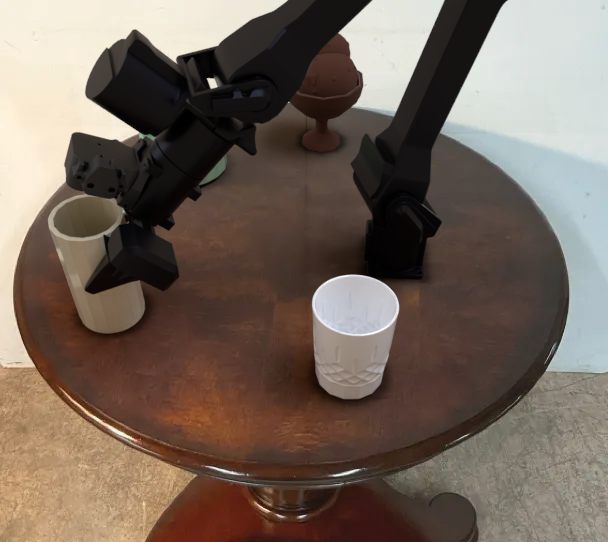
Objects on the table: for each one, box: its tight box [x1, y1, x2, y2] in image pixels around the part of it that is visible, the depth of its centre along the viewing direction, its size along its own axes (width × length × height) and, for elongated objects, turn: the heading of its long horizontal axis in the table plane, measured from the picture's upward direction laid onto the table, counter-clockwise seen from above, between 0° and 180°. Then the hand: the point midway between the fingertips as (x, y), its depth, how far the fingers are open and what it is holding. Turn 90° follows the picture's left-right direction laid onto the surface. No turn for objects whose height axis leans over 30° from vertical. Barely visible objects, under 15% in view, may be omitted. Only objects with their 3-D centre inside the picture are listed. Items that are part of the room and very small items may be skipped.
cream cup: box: [47, 193, 146, 334], centre depth 71 cm, size 7×7×13 cm
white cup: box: [311, 274, 400, 400], centre depth 66 cm, size 8×8×10 cm
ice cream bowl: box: [288, 32, 364, 153], centre depth 94 cm, size 11×11×15 cm
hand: (85, 267), depth 70 cm, fingers closed on cream cup, 7 cm apart
